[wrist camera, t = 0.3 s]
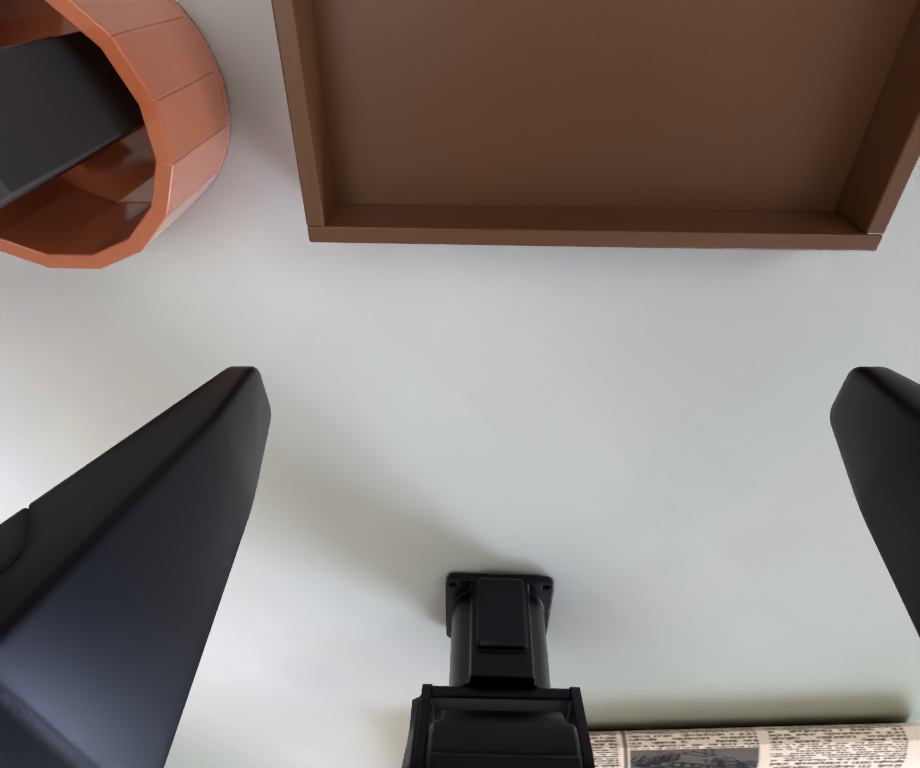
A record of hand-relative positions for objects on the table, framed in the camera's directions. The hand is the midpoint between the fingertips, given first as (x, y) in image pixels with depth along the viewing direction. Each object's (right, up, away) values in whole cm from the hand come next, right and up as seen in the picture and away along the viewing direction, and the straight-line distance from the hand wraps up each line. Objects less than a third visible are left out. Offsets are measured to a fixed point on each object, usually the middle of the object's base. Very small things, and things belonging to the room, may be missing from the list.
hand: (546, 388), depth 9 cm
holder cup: (-13, +10, +11) cm, 20 cm away
